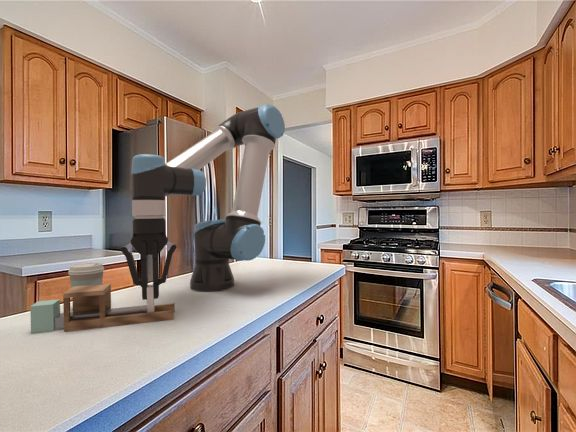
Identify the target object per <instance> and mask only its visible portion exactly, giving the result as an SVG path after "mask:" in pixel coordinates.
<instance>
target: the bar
mask: <svg viewBox="0 0 576 432" xmlns="http://www.w3.org/2000/svg"><path fill="white" fill-rule="evenodd" d="M140 313H147V304H145V305H134V306H123V307H115V308H113V307H111V309H106V317H111V316H121V315H131V314H140ZM70 316H71V321H73V320H82V319H92V318H100V310H91V311H81V312H73V311H70ZM60 330H61V331H62V330H64V312H63V313H61V312H60V314H58V315H57V316H56V317H55V318H54V331H60Z"/></svg>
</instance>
